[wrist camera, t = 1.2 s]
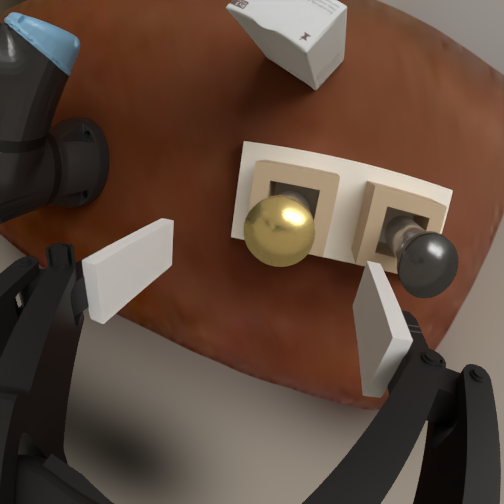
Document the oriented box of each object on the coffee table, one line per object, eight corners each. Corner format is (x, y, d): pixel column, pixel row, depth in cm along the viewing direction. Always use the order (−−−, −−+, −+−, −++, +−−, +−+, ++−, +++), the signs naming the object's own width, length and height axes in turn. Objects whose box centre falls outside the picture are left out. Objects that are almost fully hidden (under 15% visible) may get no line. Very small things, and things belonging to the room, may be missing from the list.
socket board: (235, 232, 38) (217, 250, 32) (248, 141, 34) (231, 139, 28) (421, 273, 34) (438, 298, 28) (446, 188, 30) (470, 197, 23)
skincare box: (344, 60, 28) (356, 7, 14) (314, 94, 30) (309, 55, 17) (289, 24, 27) (267, -39, 14) (259, 56, 30) (221, 6, 16)
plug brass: (262, 226, 31) (239, 258, 22) (270, 178, 29) (248, 191, 20) (311, 237, 30) (306, 273, 21) (321, 188, 28) (321, 205, 19)
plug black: (372, 250, 29) (390, 291, 20) (384, 203, 27) (411, 227, 18) (414, 261, 28) (444, 302, 19) (428, 215, 26) (466, 243, 18)
